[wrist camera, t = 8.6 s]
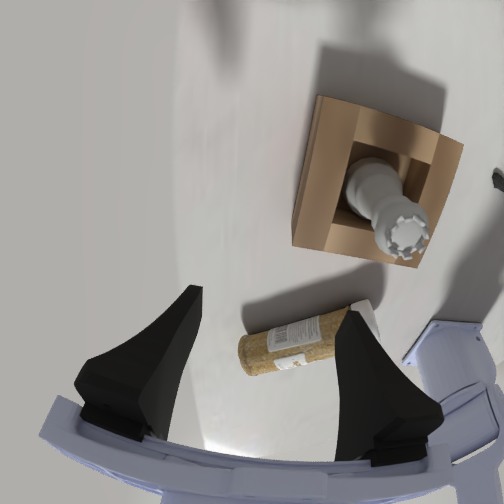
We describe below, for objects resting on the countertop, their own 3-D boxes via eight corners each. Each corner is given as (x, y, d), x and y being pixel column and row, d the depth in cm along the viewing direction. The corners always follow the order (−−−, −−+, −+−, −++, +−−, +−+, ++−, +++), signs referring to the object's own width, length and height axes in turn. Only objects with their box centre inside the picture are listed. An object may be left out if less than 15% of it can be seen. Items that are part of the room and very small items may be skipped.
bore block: (440, 134, 17) (463, 144, 14) (402, 244, 22) (416, 268, 19) (316, 95, 17) (323, 95, 14) (291, 222, 22) (292, 245, 19)
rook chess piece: (407, 186, 19) (457, 239, 12) (365, 222, 21) (396, 288, 14) (371, 142, 18) (419, 178, 11) (327, 183, 20) (349, 239, 13)
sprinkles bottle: (248, 385, 26) (384, 352, 22) (230, 347, 26) (372, 308, 22) (260, 362, 31) (378, 331, 26) (245, 328, 30) (367, 291, 26)
